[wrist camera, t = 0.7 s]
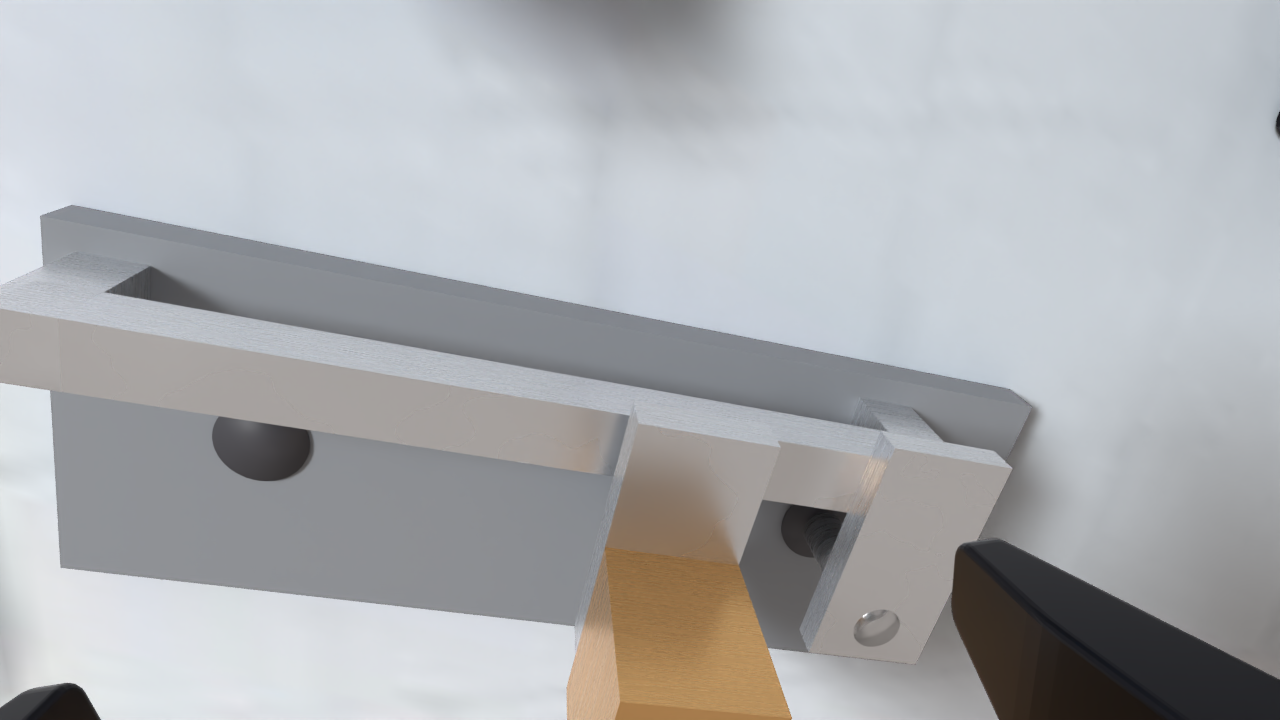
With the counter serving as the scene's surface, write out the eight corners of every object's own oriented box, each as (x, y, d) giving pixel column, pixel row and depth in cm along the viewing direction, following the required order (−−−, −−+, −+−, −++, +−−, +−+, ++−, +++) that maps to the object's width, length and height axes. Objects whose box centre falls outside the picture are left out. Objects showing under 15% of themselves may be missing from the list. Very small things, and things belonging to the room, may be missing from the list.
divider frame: (925, 386, 21) (1012, 468, 17) (853, 556, 23) (915, 664, 19) (74, 222, 17) (-75, 279, 13) (83, 447, 19) (-42, 555, 15)
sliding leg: (730, 355, 20) (852, 577, 12) (663, 568, 22) (725, 871, 14) (619, 334, 19) (666, 552, 11) (564, 554, 22) (570, 863, 14)
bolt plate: (1009, 389, 23) (1034, 408, 22) (892, 637, 27) (908, 666, 25) (71, 204, 18) (37, 216, 17) (85, 540, 22) (58, 570, 20)
